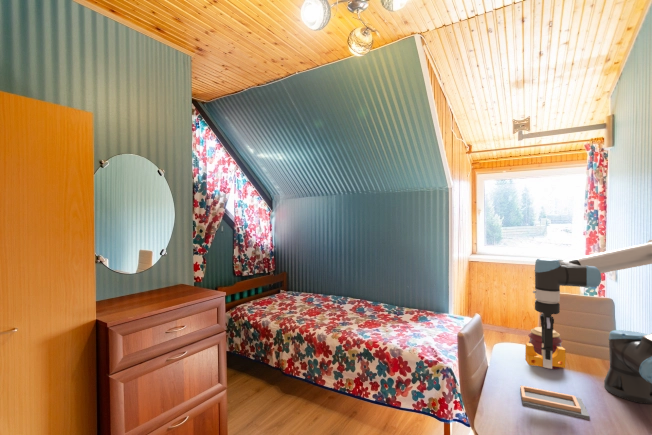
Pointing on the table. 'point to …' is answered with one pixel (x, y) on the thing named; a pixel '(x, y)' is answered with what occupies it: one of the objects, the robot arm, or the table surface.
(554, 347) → the canister
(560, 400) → the holder board
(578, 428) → the table surface
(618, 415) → the table surface
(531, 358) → the pipe clamp
